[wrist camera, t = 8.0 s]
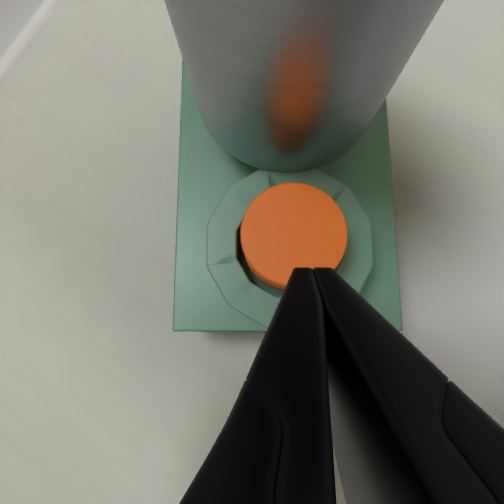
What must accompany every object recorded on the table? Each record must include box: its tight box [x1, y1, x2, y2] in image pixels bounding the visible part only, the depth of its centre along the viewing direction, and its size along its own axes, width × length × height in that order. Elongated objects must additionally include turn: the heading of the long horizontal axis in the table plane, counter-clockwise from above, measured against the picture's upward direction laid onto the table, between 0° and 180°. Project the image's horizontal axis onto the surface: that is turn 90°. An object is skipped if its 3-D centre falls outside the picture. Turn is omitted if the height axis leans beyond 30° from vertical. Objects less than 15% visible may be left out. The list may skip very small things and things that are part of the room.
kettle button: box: [240, 182, 348, 290], centre depth 12 cm, size 4×4×2 cm
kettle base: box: [173, 61, 402, 331], centre depth 17 cm, size 14×10×6 cm
